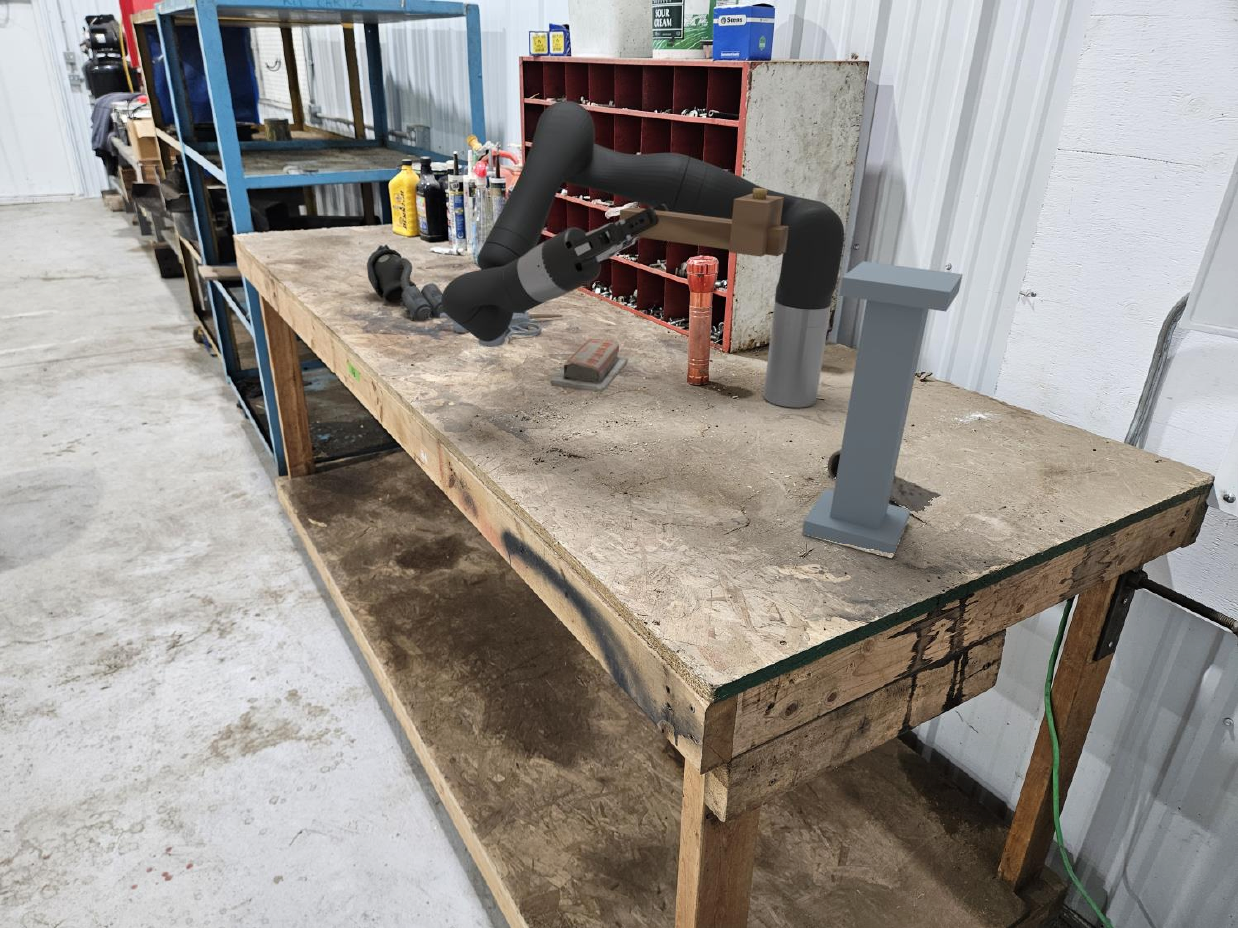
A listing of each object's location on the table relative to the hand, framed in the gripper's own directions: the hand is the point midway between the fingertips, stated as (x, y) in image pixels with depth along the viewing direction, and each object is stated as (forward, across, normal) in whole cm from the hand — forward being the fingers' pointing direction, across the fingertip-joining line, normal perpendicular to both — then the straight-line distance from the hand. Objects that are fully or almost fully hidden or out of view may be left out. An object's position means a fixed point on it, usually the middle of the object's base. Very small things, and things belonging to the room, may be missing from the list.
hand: (660, 213), depth 101 cm
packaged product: (-41, +30, +18) cm, 54 cm away
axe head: (+12, +11, +48) cm, 50 cm away
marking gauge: (+3, 0, +5) cm, 6 cm away
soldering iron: (-64, +44, +5) cm, 78 cm away
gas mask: (-92, +46, -11) cm, 104 cm away
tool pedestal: (+9, -2, +46) cm, 47 cm away
